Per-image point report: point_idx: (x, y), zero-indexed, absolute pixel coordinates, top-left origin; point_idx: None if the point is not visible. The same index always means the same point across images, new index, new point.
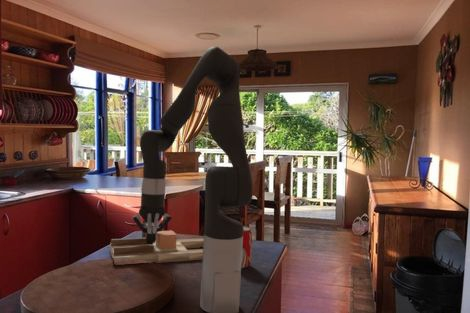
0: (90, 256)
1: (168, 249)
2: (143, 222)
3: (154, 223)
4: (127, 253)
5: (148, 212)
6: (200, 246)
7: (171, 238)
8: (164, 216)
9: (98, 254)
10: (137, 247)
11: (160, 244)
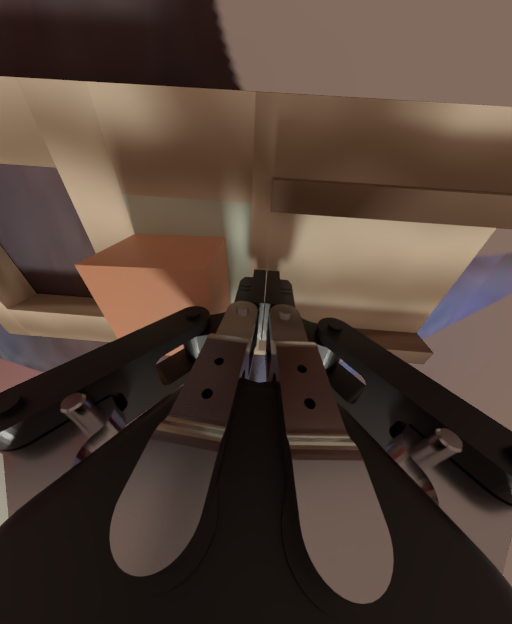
0: (485, 305)
1: (176, 215)
2: None
3: (238, 359)
4: (440, 187)
5: (351, 605)
6: (56, 297)
7: (130, 255)
8: (77, 448)
9: (442, 318)
10: (394, 188)
11: (215, 244)
